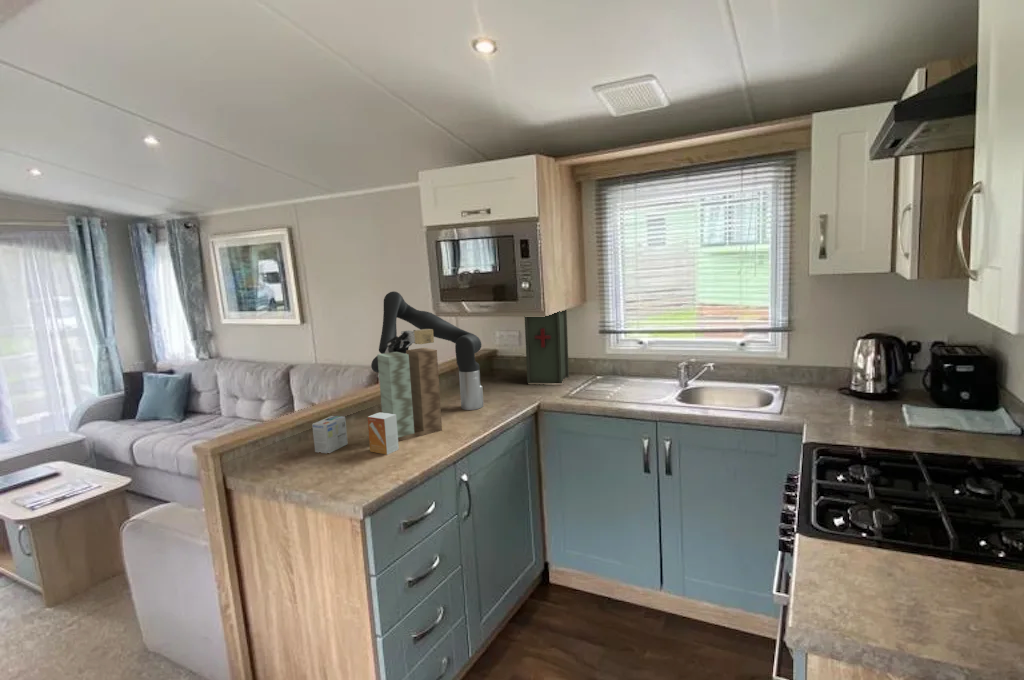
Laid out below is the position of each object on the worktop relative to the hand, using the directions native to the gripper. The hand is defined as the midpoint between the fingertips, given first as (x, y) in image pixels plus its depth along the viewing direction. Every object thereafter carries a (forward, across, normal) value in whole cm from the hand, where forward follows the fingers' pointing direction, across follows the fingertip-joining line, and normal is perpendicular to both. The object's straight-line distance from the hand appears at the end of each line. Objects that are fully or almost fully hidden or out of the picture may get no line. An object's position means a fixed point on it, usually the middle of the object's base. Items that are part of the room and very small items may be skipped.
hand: (411, 332), depth 214 cm
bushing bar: (+1, 0, +4) cm, 5 cm away
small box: (-3, -23, +42) cm, 49 cm away
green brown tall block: (-13, -6, +37) cm, 39 cm away
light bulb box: (-18, -36, +34) cm, 53 cm away
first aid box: (-38, +90, +23) cm, 100 cm away
